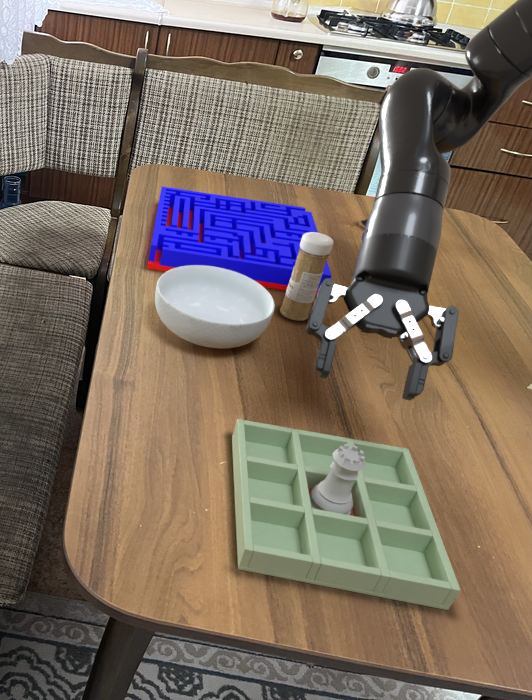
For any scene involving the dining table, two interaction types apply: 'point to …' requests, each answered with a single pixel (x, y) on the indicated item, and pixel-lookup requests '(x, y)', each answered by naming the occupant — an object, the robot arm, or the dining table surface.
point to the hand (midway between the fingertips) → (365, 387)
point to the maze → (230, 235)
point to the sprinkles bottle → (306, 275)
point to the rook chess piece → (338, 481)
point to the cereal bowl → (213, 306)
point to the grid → (337, 518)
